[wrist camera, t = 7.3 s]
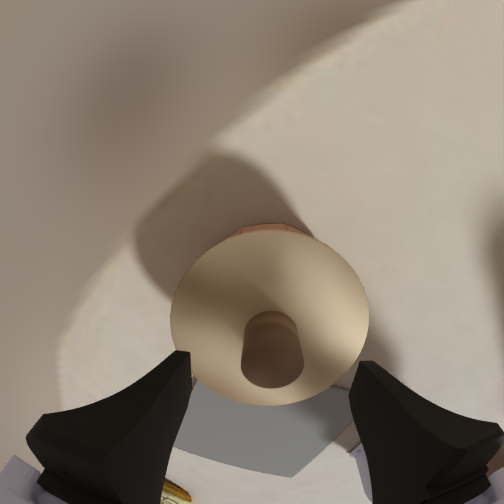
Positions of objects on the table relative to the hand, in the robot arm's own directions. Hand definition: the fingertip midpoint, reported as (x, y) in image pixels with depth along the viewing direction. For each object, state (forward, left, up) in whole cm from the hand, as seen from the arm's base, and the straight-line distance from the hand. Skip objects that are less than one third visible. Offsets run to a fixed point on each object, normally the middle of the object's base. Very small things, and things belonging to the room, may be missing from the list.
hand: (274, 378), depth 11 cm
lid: (0, 0, -5) cm, 5 cm away
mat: (-14, -6, -10) cm, 18 cm away
